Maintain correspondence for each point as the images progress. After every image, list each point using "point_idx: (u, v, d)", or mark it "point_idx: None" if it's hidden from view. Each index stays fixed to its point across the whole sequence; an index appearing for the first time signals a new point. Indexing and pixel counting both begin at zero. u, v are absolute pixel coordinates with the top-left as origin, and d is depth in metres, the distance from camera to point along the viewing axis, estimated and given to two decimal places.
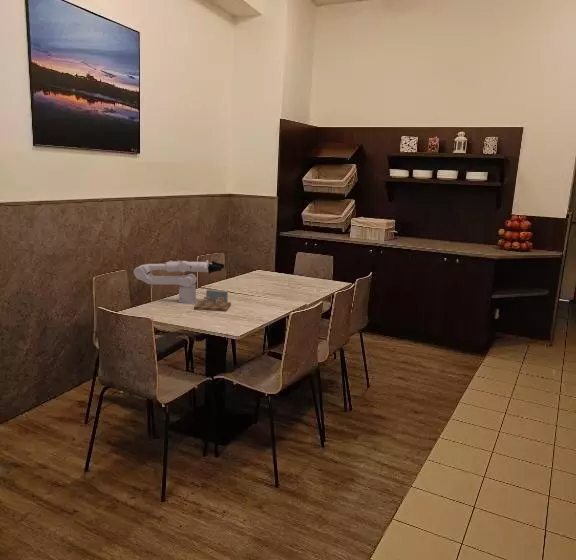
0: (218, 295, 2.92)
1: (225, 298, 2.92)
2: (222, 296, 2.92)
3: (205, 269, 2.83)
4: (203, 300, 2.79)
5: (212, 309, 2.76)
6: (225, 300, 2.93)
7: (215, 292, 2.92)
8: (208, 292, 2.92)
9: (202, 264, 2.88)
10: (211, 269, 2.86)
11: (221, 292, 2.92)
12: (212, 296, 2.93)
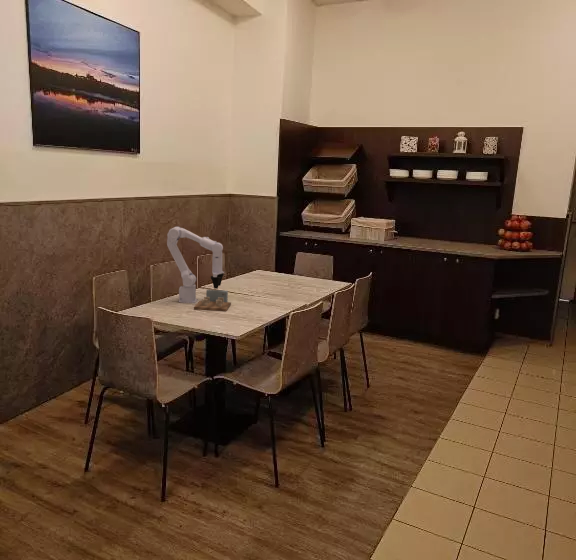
0: (218, 295, 2.92)
1: (225, 298, 2.92)
2: (222, 296, 2.92)
3: (214, 275, 2.84)
4: (203, 300, 2.79)
5: (212, 309, 2.76)
6: (225, 300, 2.93)
7: (215, 292, 2.92)
8: (208, 292, 2.92)
9: (219, 268, 2.89)
10: (214, 279, 2.88)
11: (221, 292, 2.92)
12: (212, 296, 2.93)
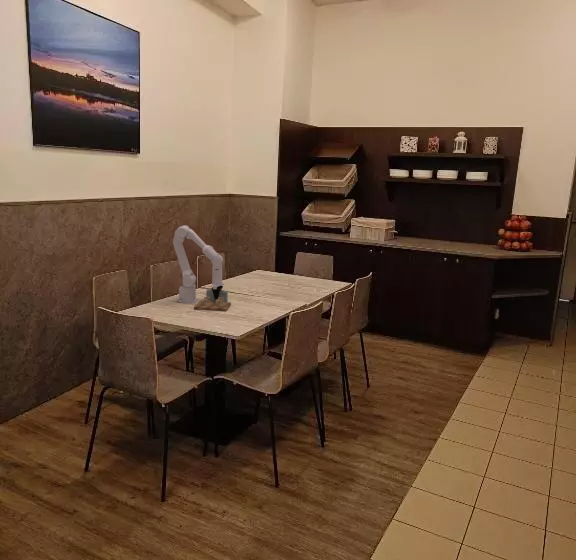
0: None
1: (225, 298, 2.92)
2: (222, 296, 2.92)
3: (214, 287, 2.86)
4: (203, 300, 2.79)
5: (212, 309, 2.76)
6: (225, 300, 2.93)
7: None
8: (208, 292, 2.92)
9: (219, 280, 2.90)
10: (215, 290, 2.91)
11: (221, 292, 2.92)
12: (212, 296, 2.93)
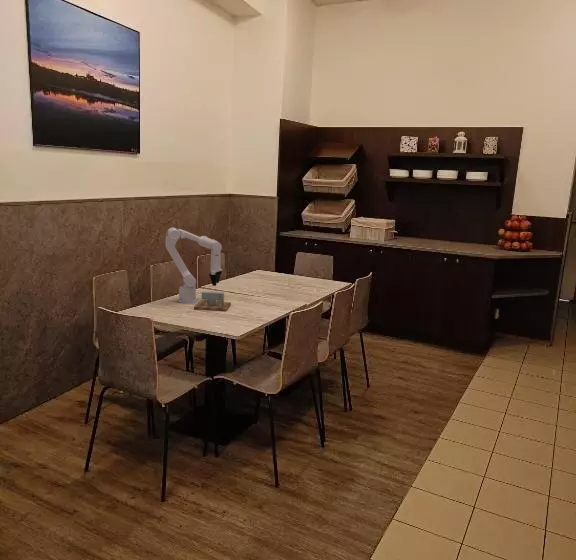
0: (214, 297, 2.80)
1: None
2: (218, 298, 2.80)
3: (212, 272, 2.89)
4: (203, 300, 2.79)
5: (212, 309, 2.76)
6: None
7: (211, 294, 2.80)
8: (203, 294, 2.80)
9: (218, 266, 2.93)
10: (213, 276, 2.93)
11: (217, 294, 2.80)
12: (208, 298, 2.81)
